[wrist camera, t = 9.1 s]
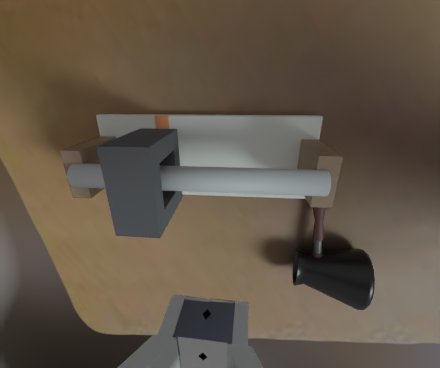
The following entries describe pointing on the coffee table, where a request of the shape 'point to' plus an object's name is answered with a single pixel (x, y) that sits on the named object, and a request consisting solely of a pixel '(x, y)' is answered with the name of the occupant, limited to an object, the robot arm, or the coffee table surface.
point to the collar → (140, 180)
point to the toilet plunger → (335, 270)
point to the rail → (223, 156)
